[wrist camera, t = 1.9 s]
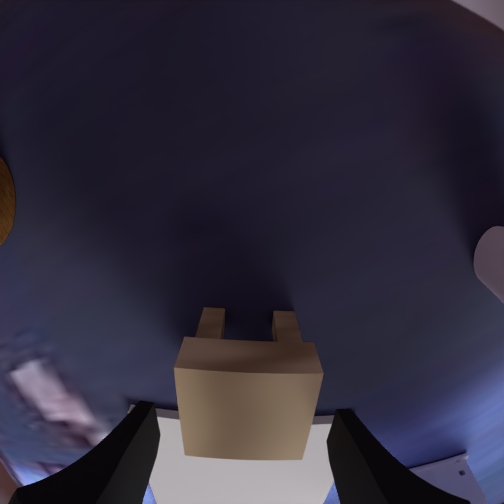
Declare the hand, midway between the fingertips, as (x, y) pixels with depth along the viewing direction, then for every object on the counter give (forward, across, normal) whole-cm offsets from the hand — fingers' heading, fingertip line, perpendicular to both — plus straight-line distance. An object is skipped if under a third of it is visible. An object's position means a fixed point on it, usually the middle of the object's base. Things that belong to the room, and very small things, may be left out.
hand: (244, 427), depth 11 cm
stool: (+6, 0, 0) cm, 6 cm away
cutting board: (+6, 0, +15) cm, 16 cm away
